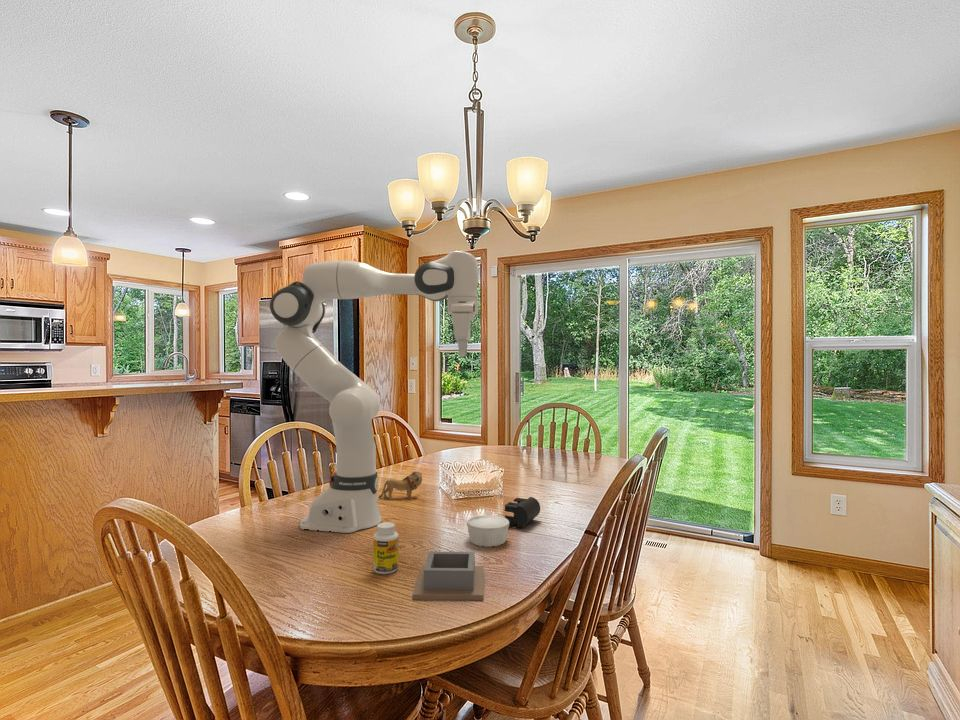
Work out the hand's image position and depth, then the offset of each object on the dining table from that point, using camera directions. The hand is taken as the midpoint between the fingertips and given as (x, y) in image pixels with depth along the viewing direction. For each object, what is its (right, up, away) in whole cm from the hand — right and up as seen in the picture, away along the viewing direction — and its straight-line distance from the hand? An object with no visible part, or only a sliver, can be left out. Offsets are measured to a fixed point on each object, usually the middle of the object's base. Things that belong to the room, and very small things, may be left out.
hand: (462, 356), depth 149 cm
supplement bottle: (-16, -48, -32) cm, 60 cm away
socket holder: (-1, -48, -40) cm, 62 cm away
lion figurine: (-21, -48, +27) cm, 59 cm away
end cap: (+17, -48, 0) cm, 51 cm away
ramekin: (+7, -49, -14) cm, 51 cm away
